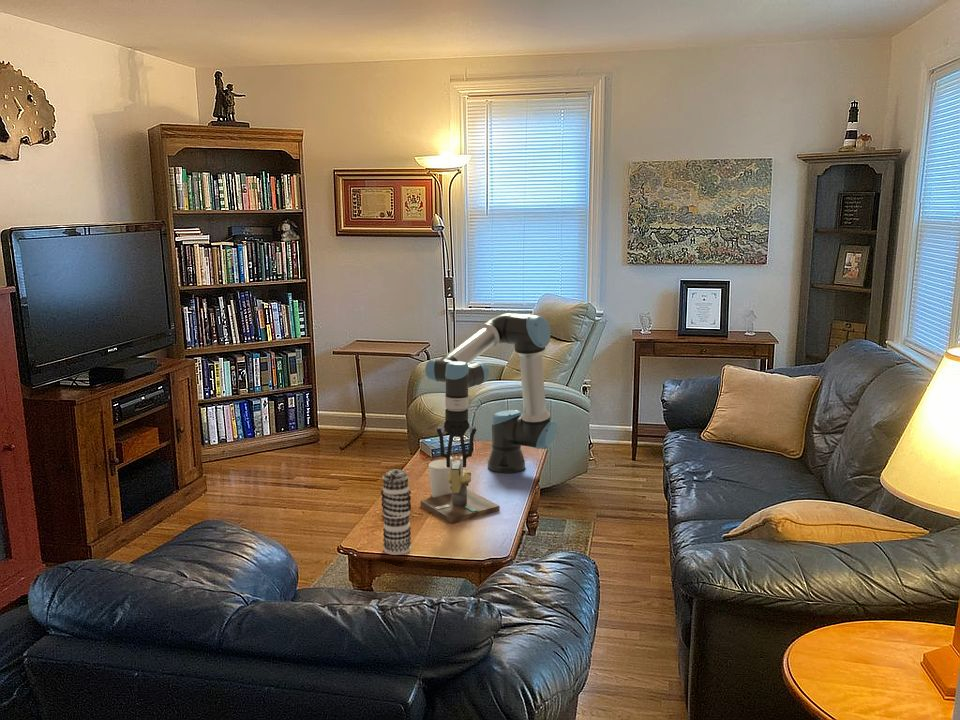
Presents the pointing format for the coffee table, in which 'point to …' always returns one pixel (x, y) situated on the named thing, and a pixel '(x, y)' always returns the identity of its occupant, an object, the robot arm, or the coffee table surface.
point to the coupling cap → (458, 477)
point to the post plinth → (460, 505)
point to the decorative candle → (396, 512)
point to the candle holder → (439, 478)
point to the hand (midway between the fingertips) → (456, 476)
